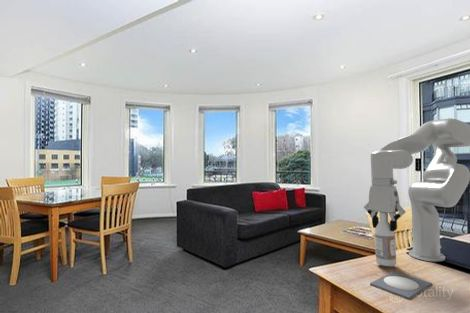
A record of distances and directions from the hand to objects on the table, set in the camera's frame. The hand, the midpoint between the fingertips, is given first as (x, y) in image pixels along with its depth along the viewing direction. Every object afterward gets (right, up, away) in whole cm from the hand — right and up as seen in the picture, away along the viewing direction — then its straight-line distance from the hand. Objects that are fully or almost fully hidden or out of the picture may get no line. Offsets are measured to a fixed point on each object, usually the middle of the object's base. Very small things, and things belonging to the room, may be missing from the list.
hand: (384, 228), depth 108 cm
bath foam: (+1, -14, 0) cm, 14 cm away
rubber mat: (-3, -15, -16) cm, 22 cm away
